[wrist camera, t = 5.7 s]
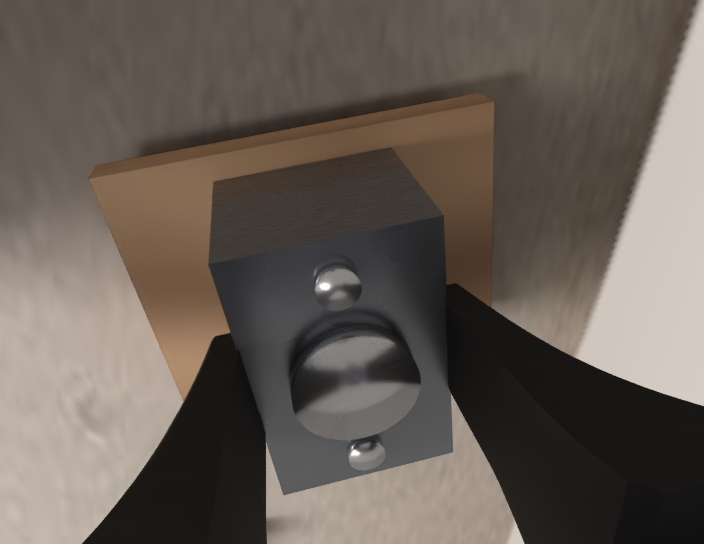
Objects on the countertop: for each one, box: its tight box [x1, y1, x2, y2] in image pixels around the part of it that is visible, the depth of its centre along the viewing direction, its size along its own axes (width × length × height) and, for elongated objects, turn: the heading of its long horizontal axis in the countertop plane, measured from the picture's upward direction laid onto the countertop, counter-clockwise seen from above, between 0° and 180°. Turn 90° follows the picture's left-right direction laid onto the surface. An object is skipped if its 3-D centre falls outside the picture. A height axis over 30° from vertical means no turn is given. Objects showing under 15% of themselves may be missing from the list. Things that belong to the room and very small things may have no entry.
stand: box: [88, 93, 495, 402], centre depth 16 cm, size 8×10×2 cm
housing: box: [208, 147, 453, 495], centre depth 13 cm, size 4×7×5 cm, turn 7°
